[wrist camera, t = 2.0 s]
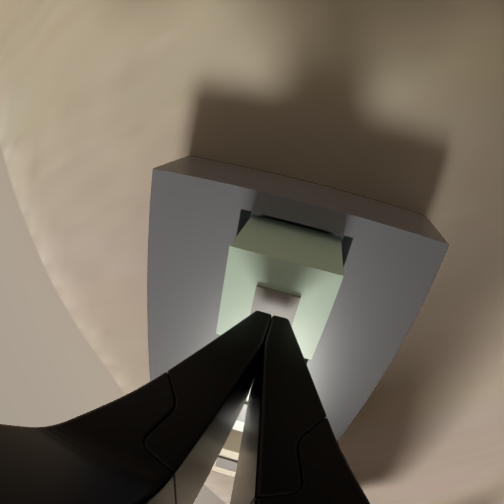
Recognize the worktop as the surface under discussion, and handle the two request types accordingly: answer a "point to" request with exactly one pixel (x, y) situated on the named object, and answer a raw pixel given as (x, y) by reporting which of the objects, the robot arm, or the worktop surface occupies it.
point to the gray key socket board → (301, 214)
